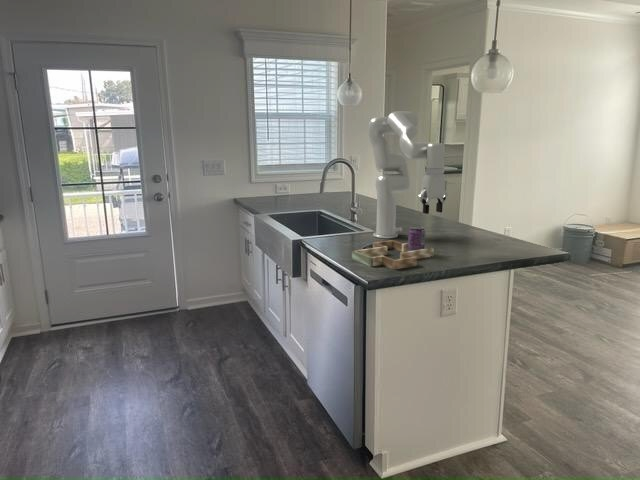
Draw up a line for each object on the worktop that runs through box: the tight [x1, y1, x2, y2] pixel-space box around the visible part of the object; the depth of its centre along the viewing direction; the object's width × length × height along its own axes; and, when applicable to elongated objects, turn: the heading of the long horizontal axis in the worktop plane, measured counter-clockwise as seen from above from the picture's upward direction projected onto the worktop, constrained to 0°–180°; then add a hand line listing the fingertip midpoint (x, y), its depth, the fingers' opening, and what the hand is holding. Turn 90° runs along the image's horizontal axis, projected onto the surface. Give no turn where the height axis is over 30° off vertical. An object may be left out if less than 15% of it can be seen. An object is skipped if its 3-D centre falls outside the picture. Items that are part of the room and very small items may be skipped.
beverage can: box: [407, 225, 426, 252], centre depth 209 cm, size 7×7×12 cm
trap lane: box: [351, 239, 435, 270], centre depth 204 cm, size 33×29×4 cm
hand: (432, 212), depth 210 cm, fingers open, 7 cm apart
